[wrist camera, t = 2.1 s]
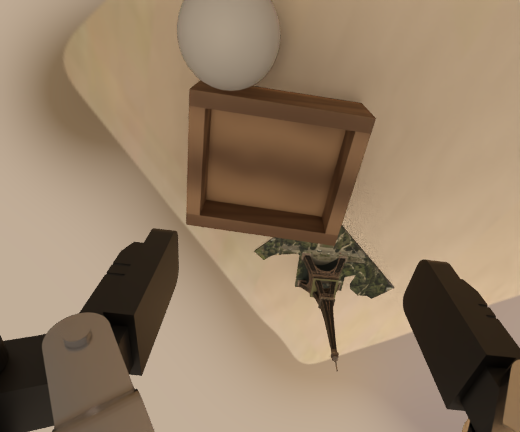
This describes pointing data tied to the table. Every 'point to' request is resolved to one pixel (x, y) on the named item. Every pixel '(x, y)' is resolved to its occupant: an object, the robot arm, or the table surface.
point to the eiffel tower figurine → (330, 272)
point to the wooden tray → (273, 161)
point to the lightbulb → (229, 40)
